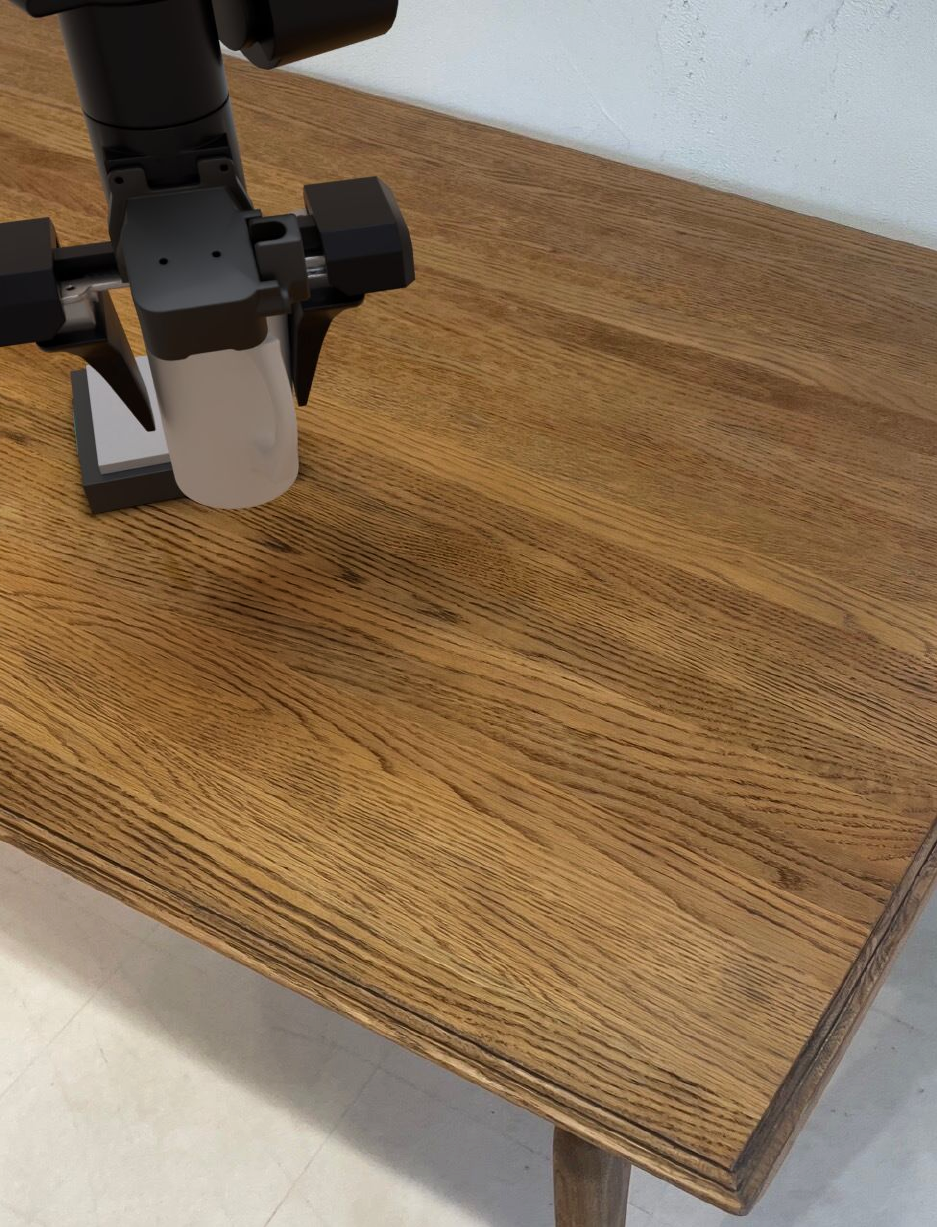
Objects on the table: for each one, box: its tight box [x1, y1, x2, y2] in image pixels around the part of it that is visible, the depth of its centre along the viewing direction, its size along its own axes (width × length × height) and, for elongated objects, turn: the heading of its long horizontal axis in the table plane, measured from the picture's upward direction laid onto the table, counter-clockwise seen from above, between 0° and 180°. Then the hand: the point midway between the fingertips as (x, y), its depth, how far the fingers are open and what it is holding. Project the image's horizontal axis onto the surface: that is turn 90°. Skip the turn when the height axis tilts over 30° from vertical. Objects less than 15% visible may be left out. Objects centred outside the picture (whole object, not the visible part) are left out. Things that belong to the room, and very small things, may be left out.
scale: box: [69, 354, 187, 515], centre depth 81 cm, size 12×12×3 cm
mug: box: [139, 314, 300, 510], centre depth 62 cm, size 10×7×12 cm, turn 39°
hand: (226, 414), depth 63 cm, fingers closed on mug, 7 cm apart
